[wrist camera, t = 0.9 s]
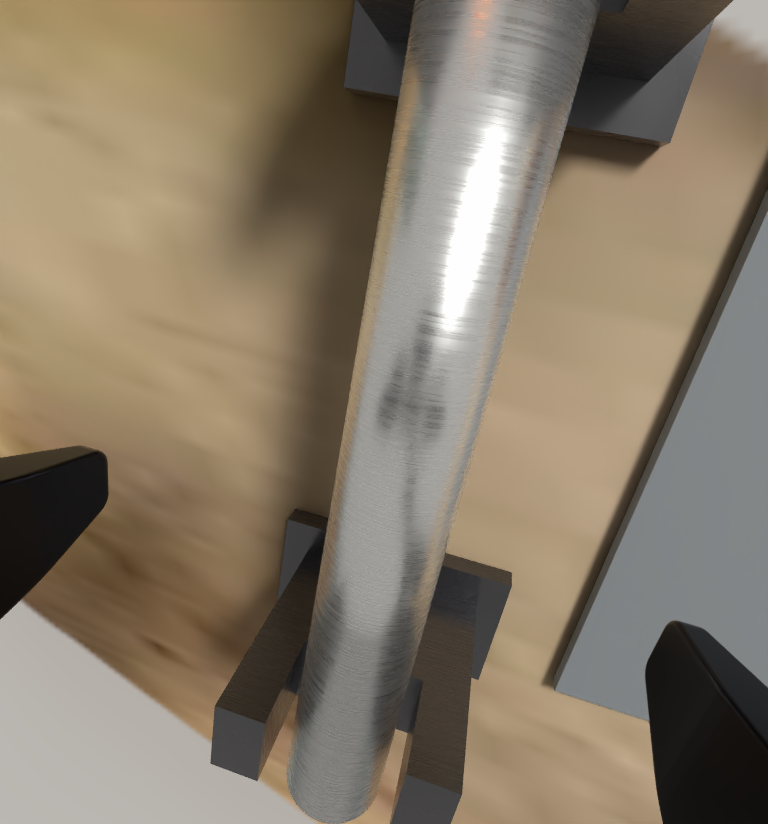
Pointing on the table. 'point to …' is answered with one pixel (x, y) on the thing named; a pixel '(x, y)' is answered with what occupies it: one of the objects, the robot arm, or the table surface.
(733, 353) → the grey plate
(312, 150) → the table surface
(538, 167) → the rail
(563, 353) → the table surface
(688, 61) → the dark grey notched cradle
